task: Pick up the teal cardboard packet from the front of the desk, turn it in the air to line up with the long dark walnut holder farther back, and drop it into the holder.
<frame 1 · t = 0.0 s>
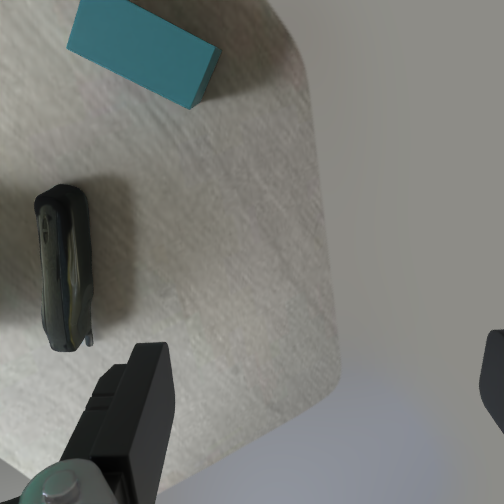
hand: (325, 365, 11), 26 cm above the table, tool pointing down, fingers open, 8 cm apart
packet: (159, 50, 32), on the table
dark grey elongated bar: (79, 266, 39), on the table
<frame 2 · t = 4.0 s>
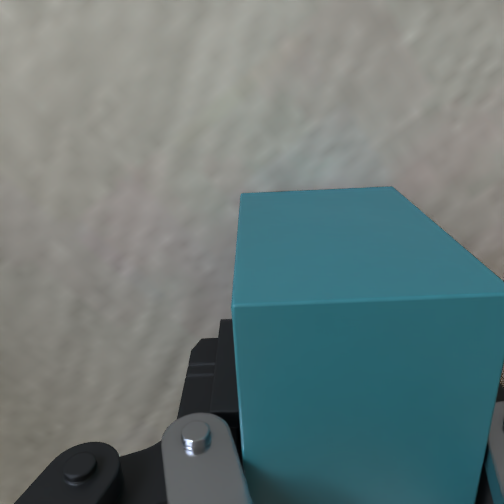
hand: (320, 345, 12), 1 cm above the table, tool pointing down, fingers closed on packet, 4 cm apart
packet: (315, 321, 13), on the table, touching gripper
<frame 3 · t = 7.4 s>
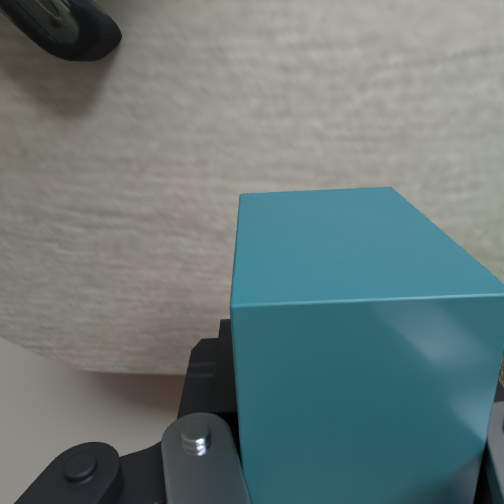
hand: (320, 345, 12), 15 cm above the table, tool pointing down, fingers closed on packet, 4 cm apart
packet: (314, 321, 13), point 14 cm above the table, touching gripper
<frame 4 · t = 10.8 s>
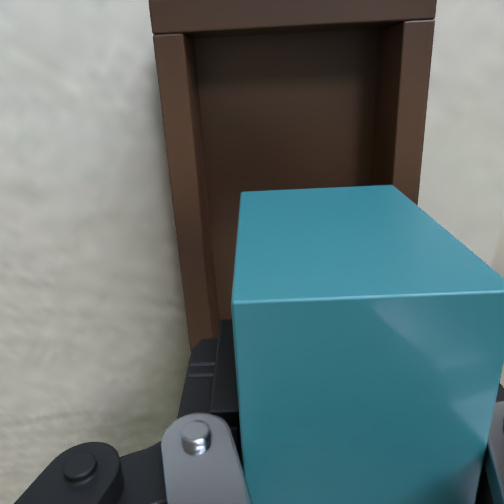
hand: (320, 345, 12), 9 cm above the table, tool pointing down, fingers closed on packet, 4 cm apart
packet: (315, 319, 13), point 8 cm above the table, touching gripper
holder: (288, 231, 21), on the table
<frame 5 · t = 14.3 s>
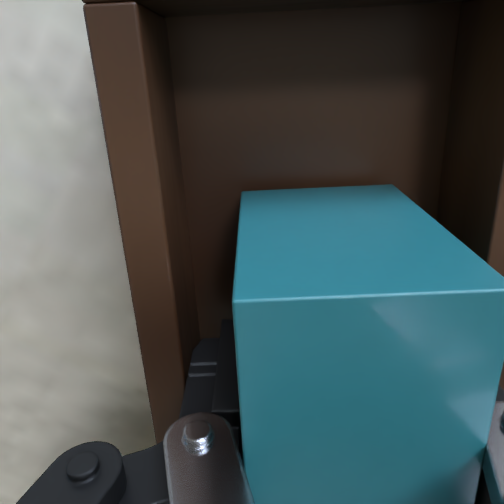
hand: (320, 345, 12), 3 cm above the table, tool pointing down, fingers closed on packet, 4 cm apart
packet: (315, 319, 13), point 1 cm above the table, touching gripper
holder: (308, 299, 15), on the table
when the fingers open (4 cm above the table, at t = 17.4 s): packet drops 1 cm, resting on holder.
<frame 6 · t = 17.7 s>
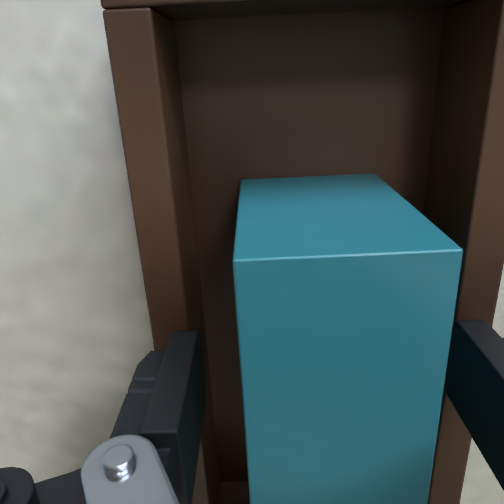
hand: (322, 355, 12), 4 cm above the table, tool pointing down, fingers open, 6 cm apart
packet: (307, 295, 15), point 1 cm above the table, touching holder
holder: (305, 284, 16), on the table
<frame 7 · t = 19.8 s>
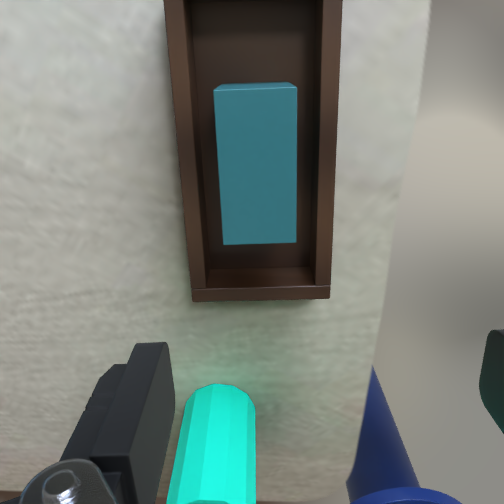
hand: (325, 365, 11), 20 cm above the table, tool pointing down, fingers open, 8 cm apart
packet: (256, 149, 28), point 1 cm above the table, touching holder
holder: (256, 147, 29), on the table
candle: (220, 410, 38), on the table
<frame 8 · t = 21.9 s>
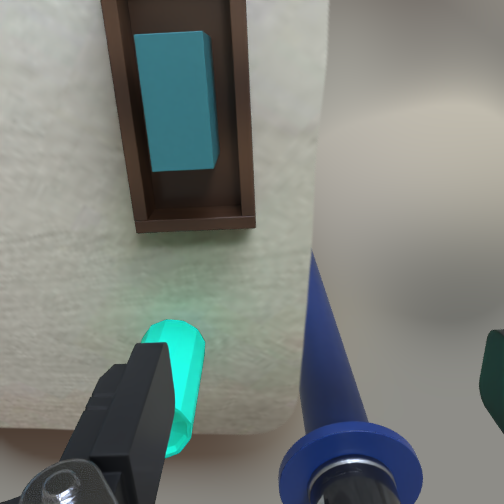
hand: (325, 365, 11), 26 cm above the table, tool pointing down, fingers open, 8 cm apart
packet: (188, 98, 33), point 1 cm above the table, touching holder
holder: (190, 97, 34), on the table
candle: (174, 345, 42), on the table
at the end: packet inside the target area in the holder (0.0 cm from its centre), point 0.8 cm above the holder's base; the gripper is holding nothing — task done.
